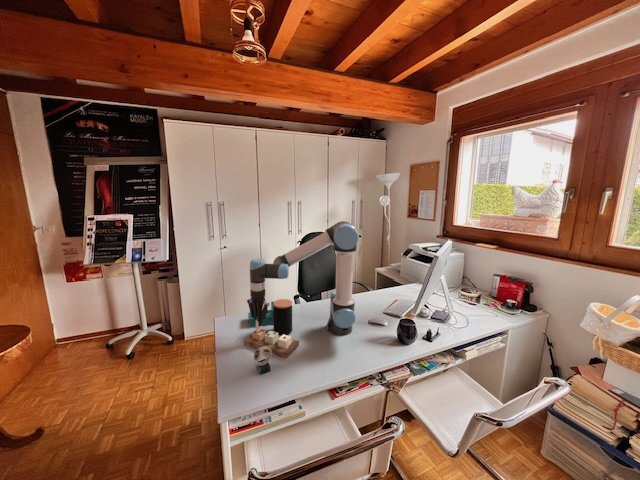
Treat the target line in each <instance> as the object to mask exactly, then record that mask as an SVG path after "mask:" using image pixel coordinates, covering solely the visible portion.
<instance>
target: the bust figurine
mask: <svg viewBox="0 0 640 480" xmlns="http://www.w3.org/2000/svg"><path fill="white" fill-rule="evenodd" d="M265 349H269V350H270V351H269V353H268V354H267V356H266V358H263V359H262V357H263V352H264V351H263V350H265ZM272 357H273V354H272V351H271V349H270V348H269V347H268V346H263V347H260V348H258V349H255V351H254V353H253V360H254V361H255V363H256V368H257V371H258V372H259V374H260V375H265V374H267V373H270V372H271V364H270V360H271V359H272Z"/></svg>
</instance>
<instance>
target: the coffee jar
mask: <svg viewBox="0 0 640 480" xmlns="http://www.w3.org/2000/svg"><path fill="white" fill-rule="evenodd" d="M273 305H274V307H273V324H272V325H273V332H277V333H278V335H281V336H282V335H283V334H284V335H287V336H290V334H292V332H293V302H292V300H290V299H287V298H280V299H279V298H278V299H277V300H275V301H274V303H273Z"/></svg>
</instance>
